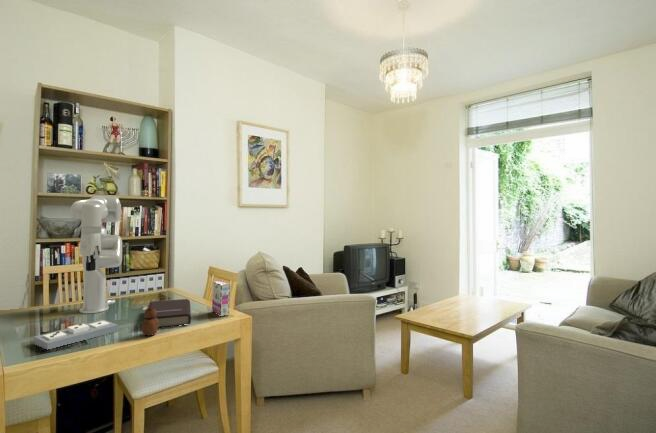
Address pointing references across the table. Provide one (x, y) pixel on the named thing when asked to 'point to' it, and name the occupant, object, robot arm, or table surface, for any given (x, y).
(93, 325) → the one dot tile
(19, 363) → the table surface
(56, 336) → the three dot tile
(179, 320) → the book
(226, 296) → the candy bar box
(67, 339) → the tile board
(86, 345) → the table surface
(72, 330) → the two dot tile
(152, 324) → the wooden figurine
